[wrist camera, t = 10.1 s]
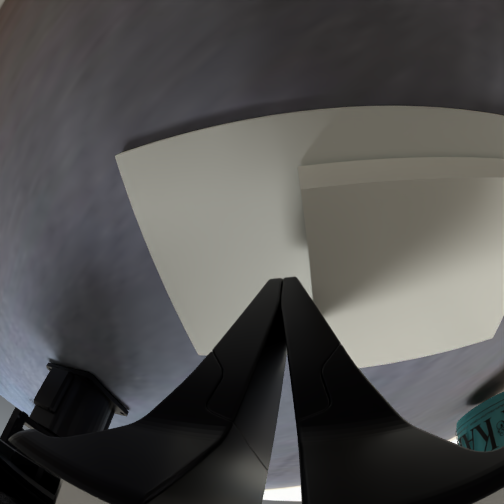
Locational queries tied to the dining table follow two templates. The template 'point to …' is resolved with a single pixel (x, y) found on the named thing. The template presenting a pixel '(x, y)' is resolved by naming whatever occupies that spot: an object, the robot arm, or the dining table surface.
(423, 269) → the rectangular block
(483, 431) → the beverage bottle
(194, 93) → the dining table surface
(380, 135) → the felt mat
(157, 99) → the dining table surface
